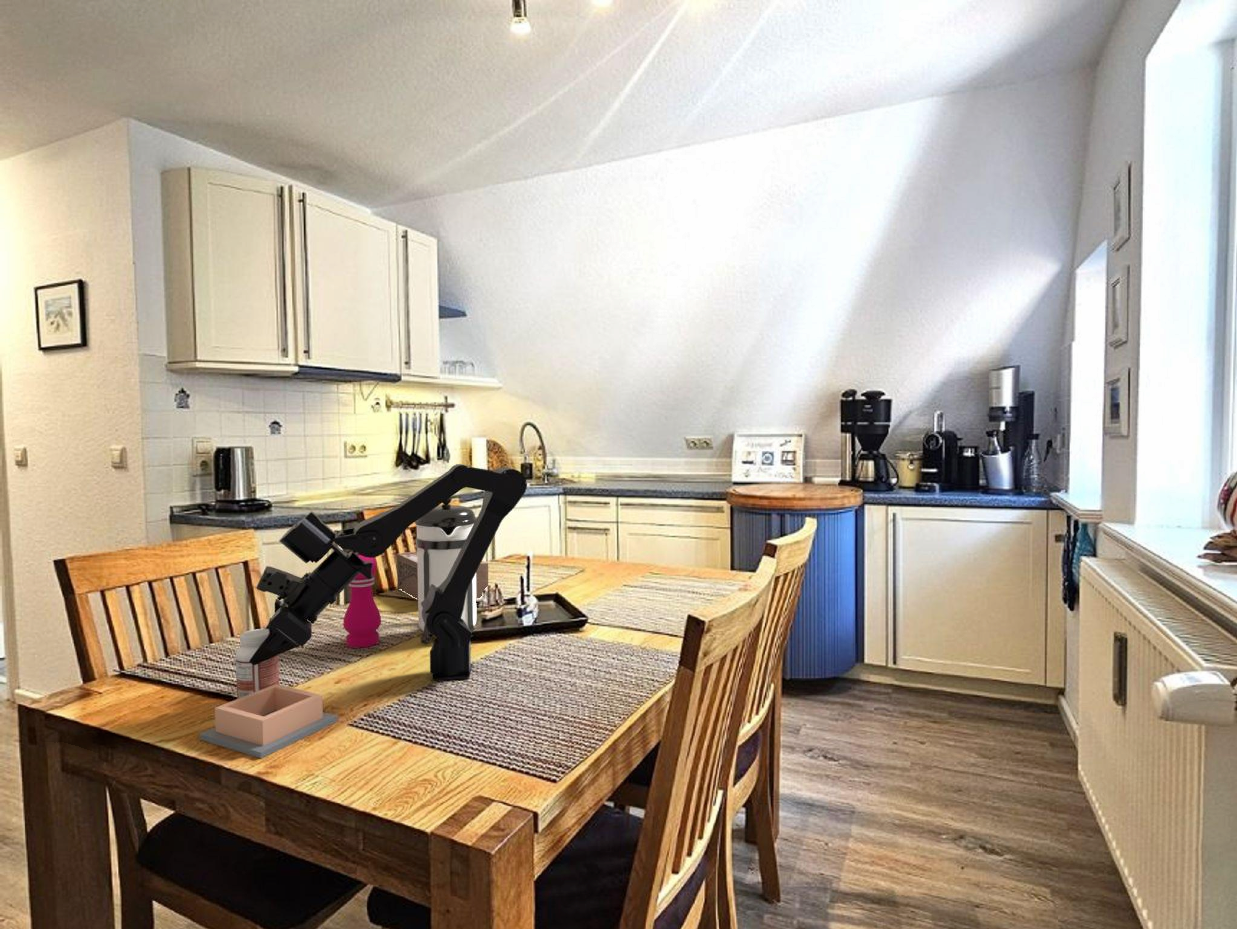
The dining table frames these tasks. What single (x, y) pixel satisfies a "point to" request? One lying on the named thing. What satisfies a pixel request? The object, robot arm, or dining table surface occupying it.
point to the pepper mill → (362, 611)
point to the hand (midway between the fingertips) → (254, 654)
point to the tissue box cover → (409, 574)
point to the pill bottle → (254, 675)
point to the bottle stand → (268, 720)
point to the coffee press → (443, 555)
